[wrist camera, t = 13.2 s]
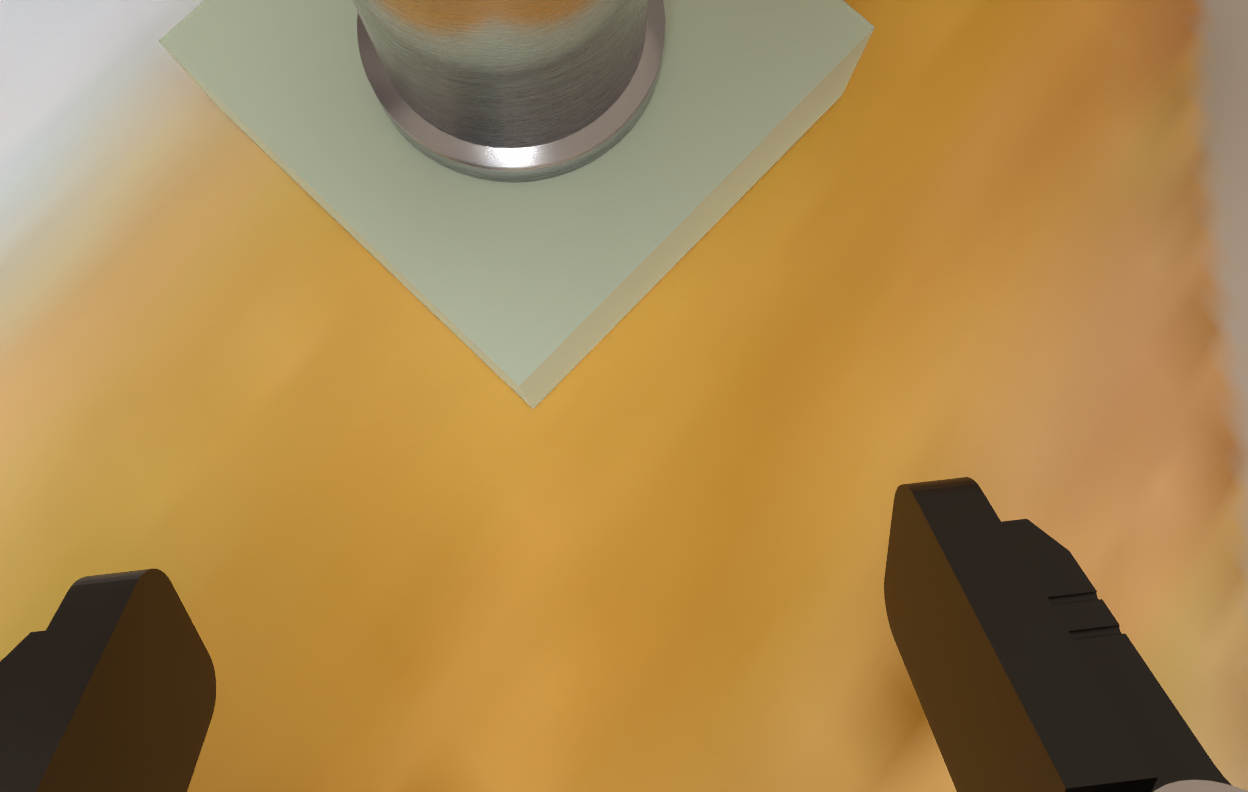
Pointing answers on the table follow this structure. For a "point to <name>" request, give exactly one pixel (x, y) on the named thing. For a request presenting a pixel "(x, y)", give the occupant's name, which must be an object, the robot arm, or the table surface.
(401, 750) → the table surface
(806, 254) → the table surface
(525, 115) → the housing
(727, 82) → the green plinth
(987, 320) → the table surface
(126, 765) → the robot arm
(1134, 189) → the table surface
